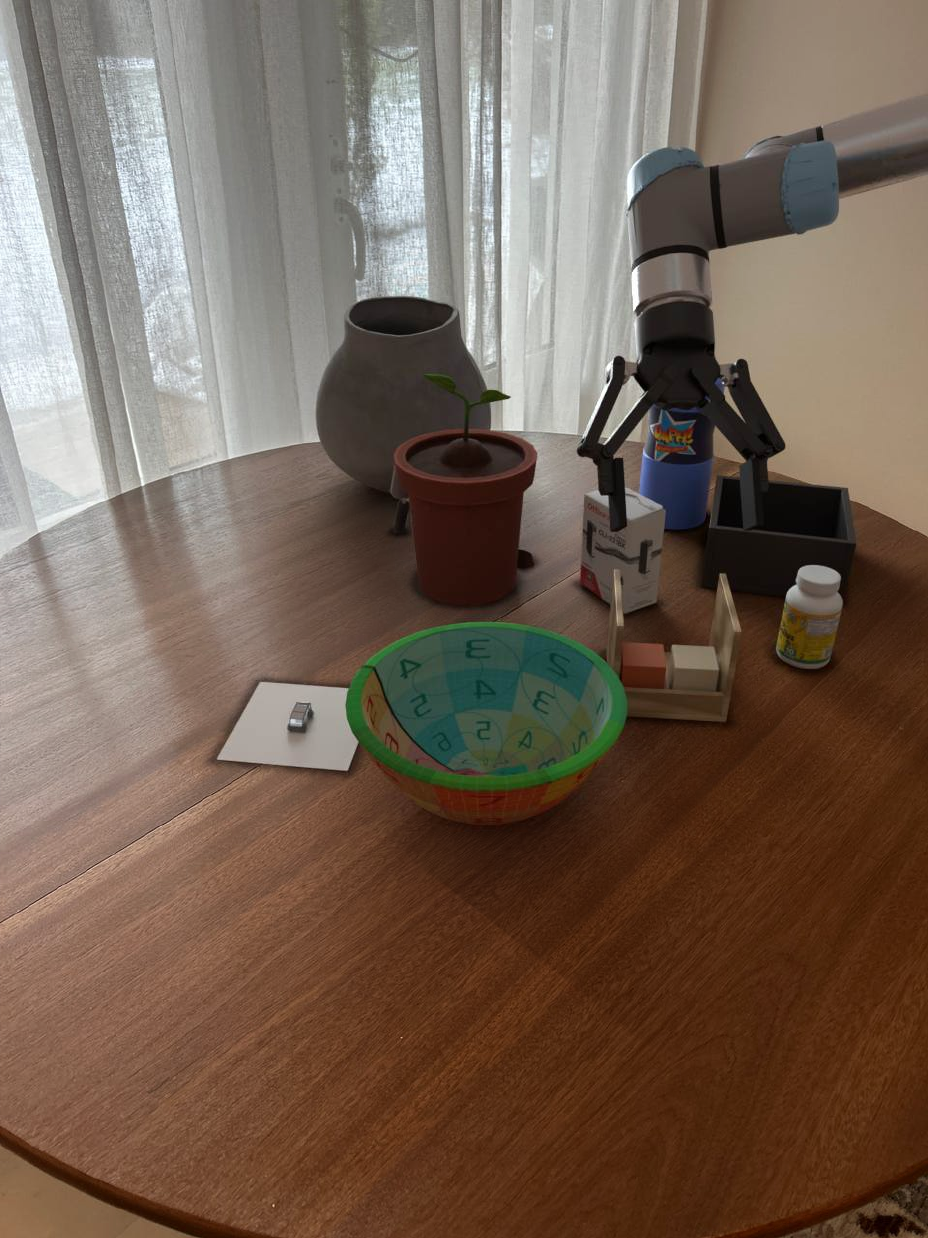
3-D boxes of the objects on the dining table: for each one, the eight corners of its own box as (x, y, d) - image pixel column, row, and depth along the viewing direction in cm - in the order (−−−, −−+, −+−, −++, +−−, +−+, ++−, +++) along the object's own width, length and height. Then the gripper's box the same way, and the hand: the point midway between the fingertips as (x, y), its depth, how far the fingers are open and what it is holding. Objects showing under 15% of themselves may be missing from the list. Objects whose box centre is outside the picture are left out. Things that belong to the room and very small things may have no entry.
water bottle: (693, 535, 119) (719, 339, 106) (625, 520, 123) (642, 329, 110) (715, 508, 126) (742, 321, 113) (650, 495, 130) (668, 313, 117)
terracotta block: (618, 675, 92) (621, 642, 90) (659, 677, 92) (663, 644, 89) (619, 699, 89) (622, 665, 86) (662, 702, 88) (666, 667, 86)
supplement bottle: (836, 670, 93) (857, 587, 88) (783, 671, 93) (800, 588, 88) (819, 641, 98) (838, 561, 93) (768, 641, 98) (784, 561, 93)
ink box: (577, 583, 109) (582, 490, 103) (610, 572, 111) (617, 481, 105) (624, 615, 103) (633, 518, 97) (658, 603, 105) (669, 507, 99)
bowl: (657, 756, 82) (669, 663, 77) (545, 933, 66) (550, 830, 61) (443, 684, 92) (440, 596, 87) (299, 822, 76) (286, 725, 70)
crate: (606, 653, 96) (613, 568, 91) (712, 658, 95) (725, 573, 90) (609, 715, 87) (617, 625, 82) (726, 722, 86) (741, 631, 81)
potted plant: (381, 616, 103) (366, 396, 90) (394, 530, 122) (383, 337, 109) (540, 614, 103) (548, 395, 90) (529, 528, 122) (534, 335, 108)
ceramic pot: (308, 518, 125) (287, 330, 112) (336, 451, 146) (321, 286, 132) (489, 519, 124) (490, 330, 111) (491, 452, 145) (492, 285, 132)
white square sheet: (216, 759, 83) (213, 746, 82) (260, 681, 93) (258, 669, 92) (347, 770, 81) (346, 757, 80) (377, 690, 91) (376, 678, 90)
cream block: (667, 678, 91) (671, 644, 89) (708, 680, 91) (714, 646, 89) (670, 702, 88) (675, 667, 86) (713, 704, 88) (719, 670, 86)
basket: (835, 543, 117) (848, 487, 113) (842, 604, 104) (856, 543, 100) (709, 529, 121) (716, 474, 117) (700, 586, 108) (709, 527, 104)
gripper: (773, 332, 96) (788, 534, 94) (539, 326, 92) (550, 537, 90) (811, 301, 89) (828, 519, 87) (559, 292, 85) (571, 521, 83)
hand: (687, 528), depth 88 cm, fingers open, 13 cm apart
